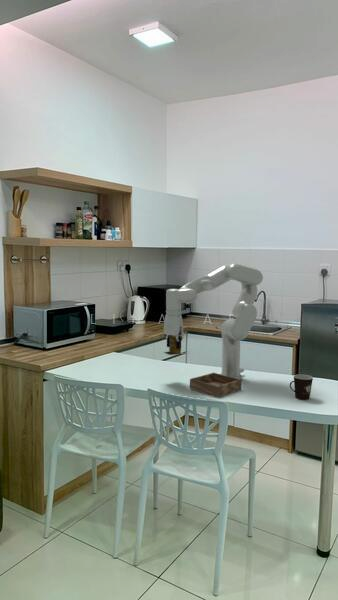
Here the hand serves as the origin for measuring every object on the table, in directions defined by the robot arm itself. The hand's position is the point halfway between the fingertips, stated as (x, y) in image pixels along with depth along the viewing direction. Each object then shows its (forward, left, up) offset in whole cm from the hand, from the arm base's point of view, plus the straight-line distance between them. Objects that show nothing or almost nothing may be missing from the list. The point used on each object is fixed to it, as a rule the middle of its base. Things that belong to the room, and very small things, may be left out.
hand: (173, 347), depth 235 cm
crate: (-7, +23, -18) cm, 30 cm away
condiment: (0, 0, -3) cm, 3 cm away
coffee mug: (-26, +58, -19) cm, 66 cm away
